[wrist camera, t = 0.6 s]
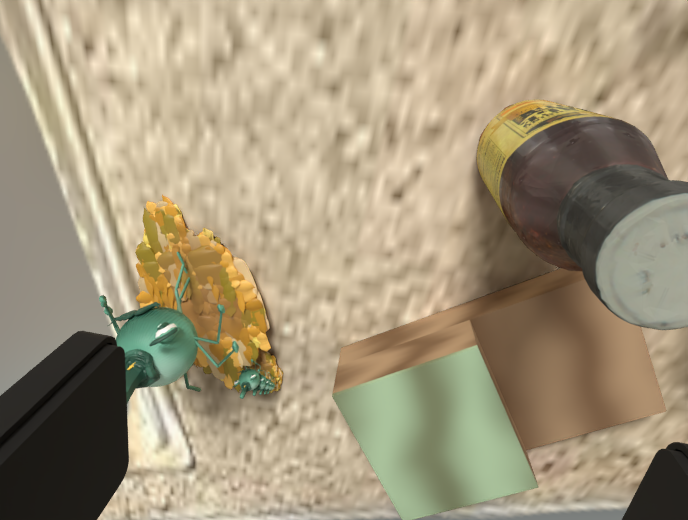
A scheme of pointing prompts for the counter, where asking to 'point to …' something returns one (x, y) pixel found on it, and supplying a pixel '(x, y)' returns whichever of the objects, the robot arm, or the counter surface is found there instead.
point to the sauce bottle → (593, 205)
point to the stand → (491, 390)
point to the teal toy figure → (193, 311)
